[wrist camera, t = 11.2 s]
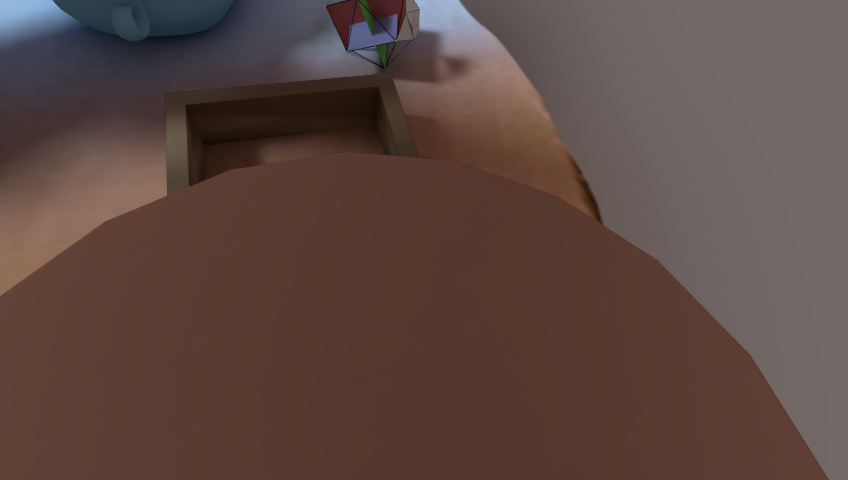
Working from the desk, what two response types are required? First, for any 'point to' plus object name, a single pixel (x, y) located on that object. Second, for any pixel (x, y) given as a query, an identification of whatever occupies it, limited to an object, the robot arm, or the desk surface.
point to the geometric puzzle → (375, 23)
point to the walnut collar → (278, 117)
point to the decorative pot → (146, 16)
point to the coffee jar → (374, 341)
